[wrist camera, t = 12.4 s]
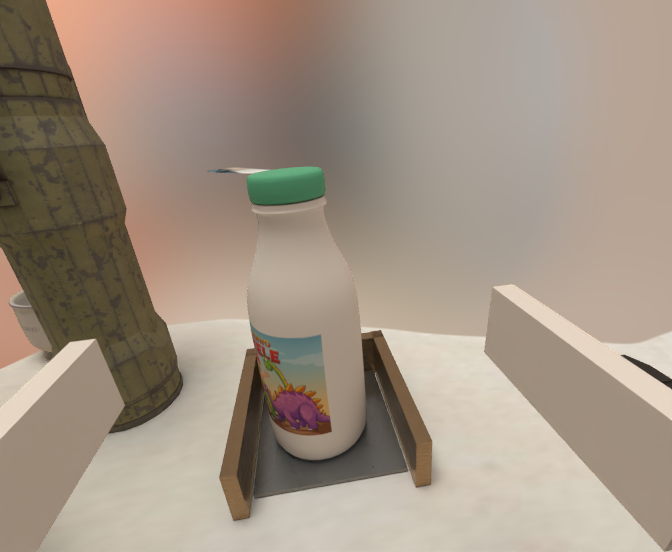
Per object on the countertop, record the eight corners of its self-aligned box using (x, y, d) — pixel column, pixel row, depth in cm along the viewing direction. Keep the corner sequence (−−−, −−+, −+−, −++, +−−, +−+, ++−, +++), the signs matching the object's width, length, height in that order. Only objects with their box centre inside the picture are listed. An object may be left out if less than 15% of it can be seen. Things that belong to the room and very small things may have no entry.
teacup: (59, 330, 47) (34, 278, 44) (143, 312, 50) (125, 262, 47) (6, 395, 35) (-34, 330, 32) (121, 365, 38) (95, 303, 35)
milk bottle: (330, 377, 32) (305, 161, 24) (387, 425, 26) (377, 162, 19) (257, 418, 28) (199, 176, 20) (305, 486, 22) (249, 183, 15)
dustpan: (430, 484, 22) (434, 390, 19) (233, 520, 21) (202, 427, 18) (377, 351, 36) (374, 284, 33) (256, 369, 35) (241, 302, 32)
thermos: (196, 353, 39) (80, -31, 25) (163, 437, 28) (-77, -162, 14) (116, 366, 38) (-51, -26, 24) (49, 457, 27) (-325, -161, 13)
